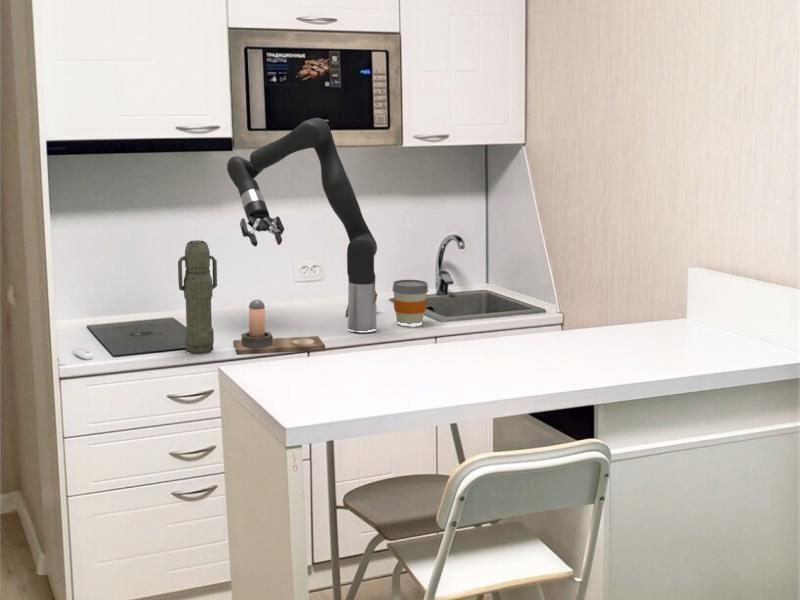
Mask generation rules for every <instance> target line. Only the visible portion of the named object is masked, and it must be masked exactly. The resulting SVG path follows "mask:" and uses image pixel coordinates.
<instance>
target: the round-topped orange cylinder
mask: <svg viewBox="0 0 800 600" xmlns="http://www.w3.org/2000/svg"><path fill="white" fill-rule="evenodd" d="M265 316H266V306H265V303H264V302H263V301H262V300H261V299H254V300H251V302H250V303H249V304H248V332H249V337H252V338H261V337H265V332H266V323H265V321H266V317H265Z"/></svg>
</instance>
